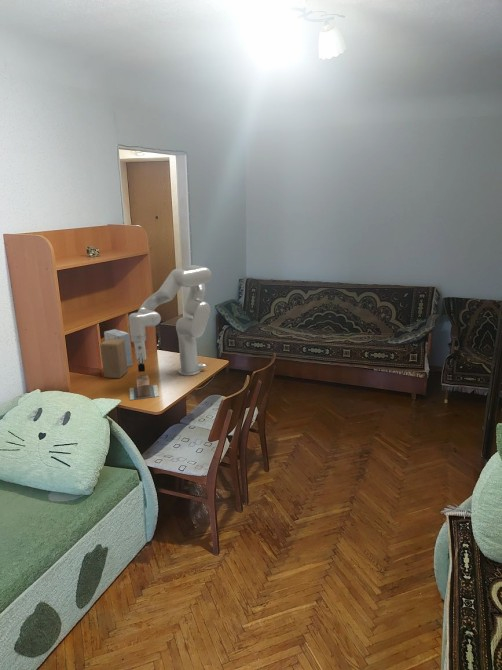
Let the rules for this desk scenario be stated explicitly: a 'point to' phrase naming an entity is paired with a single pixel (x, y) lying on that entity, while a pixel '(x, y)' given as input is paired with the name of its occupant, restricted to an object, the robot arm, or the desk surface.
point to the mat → (135, 396)
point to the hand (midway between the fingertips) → (141, 371)
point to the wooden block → (114, 358)
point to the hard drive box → (123, 335)
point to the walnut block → (143, 386)
